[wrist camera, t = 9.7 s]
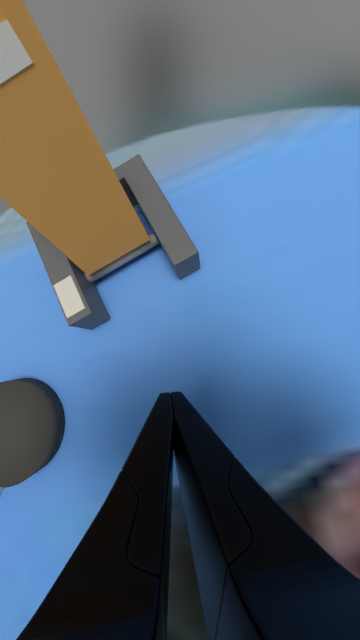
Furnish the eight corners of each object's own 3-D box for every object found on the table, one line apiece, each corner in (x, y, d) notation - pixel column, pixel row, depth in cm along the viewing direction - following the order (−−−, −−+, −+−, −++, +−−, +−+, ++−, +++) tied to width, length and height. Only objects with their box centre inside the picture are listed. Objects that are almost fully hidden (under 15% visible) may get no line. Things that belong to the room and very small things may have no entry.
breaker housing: (200, 268, 17) (198, 250, 14) (91, 329, 18) (67, 325, 15) (149, 183, 19) (138, 151, 16) (53, 241, 20) (24, 221, 17)
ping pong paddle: (22, 523, 16) (2, 541, 15) (-45, 470, 18) (-69, 482, 16) (80, 404, 17) (67, 409, 16) (11, 363, 19) (-7, 364, 17)
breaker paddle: (150, 239, 16) (11, -21, 7) (88, 276, 17) (-133, 78, 7) (144, 228, 17) (12, -17, 7) (85, 263, 17) (-115, 71, 8)
